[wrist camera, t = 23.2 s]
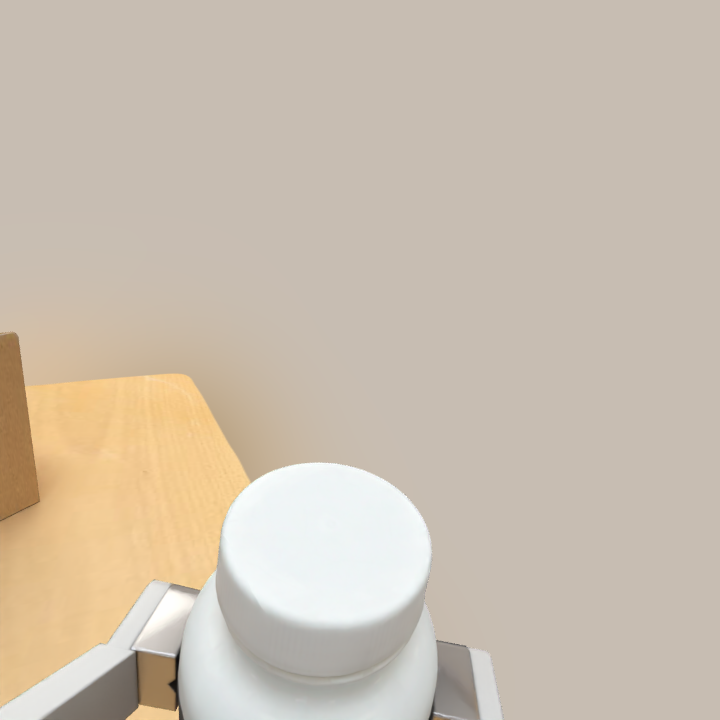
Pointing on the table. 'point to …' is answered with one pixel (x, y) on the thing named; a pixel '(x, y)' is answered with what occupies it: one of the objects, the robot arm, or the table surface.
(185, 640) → the pill bottle
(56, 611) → the table surface
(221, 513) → the table surface
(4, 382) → the sandwich container
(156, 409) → the table surface
